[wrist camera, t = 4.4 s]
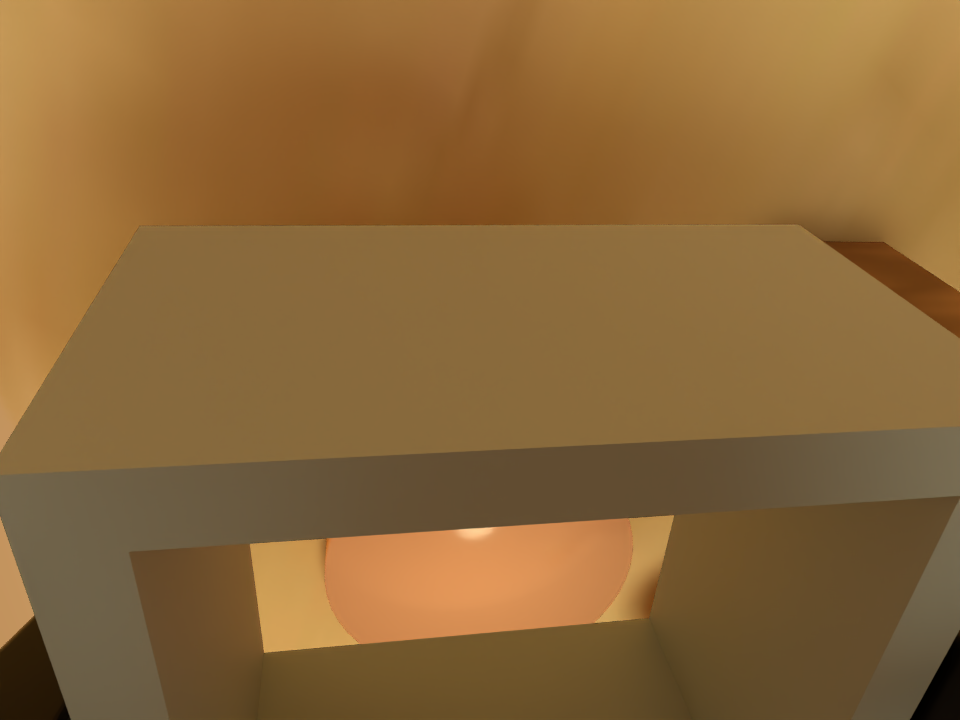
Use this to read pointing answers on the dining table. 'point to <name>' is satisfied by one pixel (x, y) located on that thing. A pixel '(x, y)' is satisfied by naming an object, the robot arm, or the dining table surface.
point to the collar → (495, 467)
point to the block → (906, 280)
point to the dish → (476, 579)
